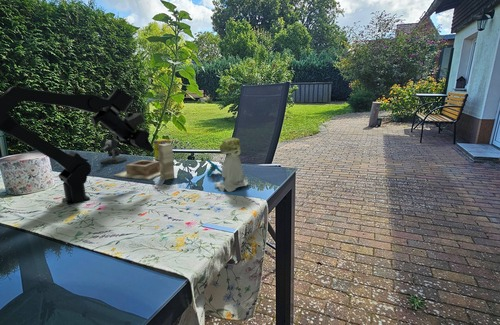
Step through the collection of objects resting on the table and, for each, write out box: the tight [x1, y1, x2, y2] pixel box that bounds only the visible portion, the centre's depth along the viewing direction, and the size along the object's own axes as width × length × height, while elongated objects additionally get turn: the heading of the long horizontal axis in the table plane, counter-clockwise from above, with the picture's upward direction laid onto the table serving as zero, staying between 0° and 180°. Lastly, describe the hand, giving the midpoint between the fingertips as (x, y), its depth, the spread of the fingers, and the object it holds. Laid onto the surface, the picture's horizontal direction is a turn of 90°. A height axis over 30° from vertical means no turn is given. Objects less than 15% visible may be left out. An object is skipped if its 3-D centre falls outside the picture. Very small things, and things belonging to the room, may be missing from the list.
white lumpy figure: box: [214, 137, 250, 193], centre depth 103 cm, size 12×13×18 cm
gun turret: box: [99, 136, 128, 165], centre depth 142 cm, size 13×20×13 cm, turn 14°
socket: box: [113, 159, 161, 181], centre depth 123 cm, size 18×16×5 cm
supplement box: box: [153, 138, 171, 161], centre depth 146 cm, size 6×6×11 cm
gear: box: [205, 158, 222, 177], centre depth 119 cm, size 11×6×10 cm
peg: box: [158, 143, 175, 180], centre depth 115 cm, size 4×4×14 cm
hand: (147, 149), depth 108 cm, fingers open, 9 cm apart
